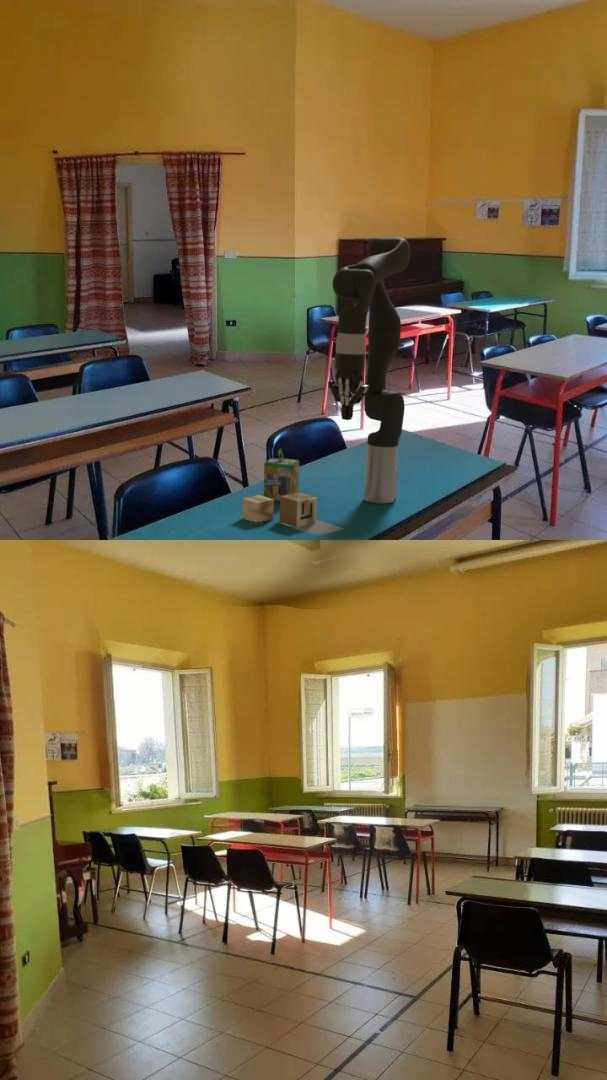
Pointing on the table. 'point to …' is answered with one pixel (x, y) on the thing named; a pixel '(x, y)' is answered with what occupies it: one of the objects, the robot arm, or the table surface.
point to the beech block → (258, 508)
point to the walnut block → (298, 509)
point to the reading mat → (317, 527)
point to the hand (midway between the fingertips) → (346, 419)
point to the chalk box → (280, 477)
